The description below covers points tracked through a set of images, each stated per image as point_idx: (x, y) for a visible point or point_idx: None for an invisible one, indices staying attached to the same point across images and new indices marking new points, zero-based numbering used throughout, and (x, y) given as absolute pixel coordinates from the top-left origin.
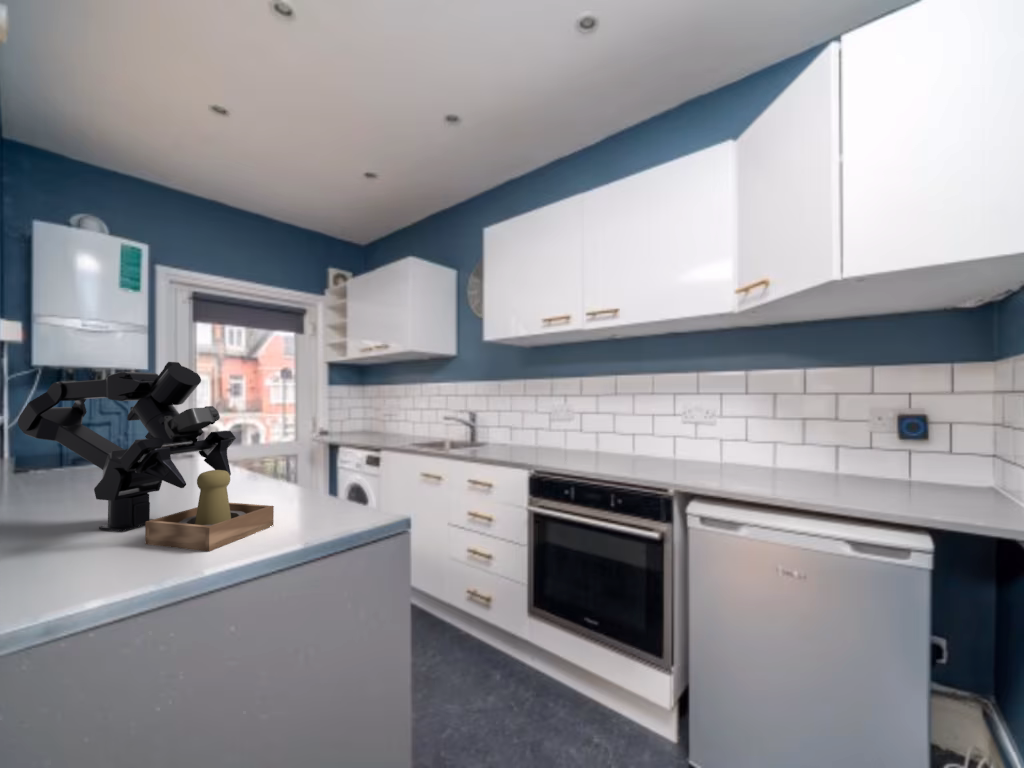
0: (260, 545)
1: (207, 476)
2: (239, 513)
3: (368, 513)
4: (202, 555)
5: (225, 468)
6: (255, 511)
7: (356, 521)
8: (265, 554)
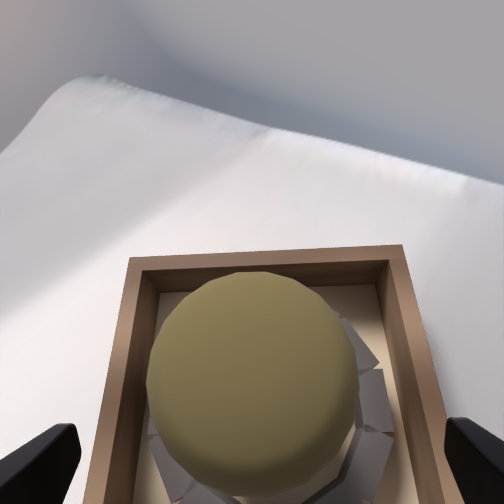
0: (299, 202)
1: (338, 320)
2: None
3: (32, 146)
4: None
5: (31, 472)
6: (207, 258)
7: (100, 134)
8: (338, 156)
